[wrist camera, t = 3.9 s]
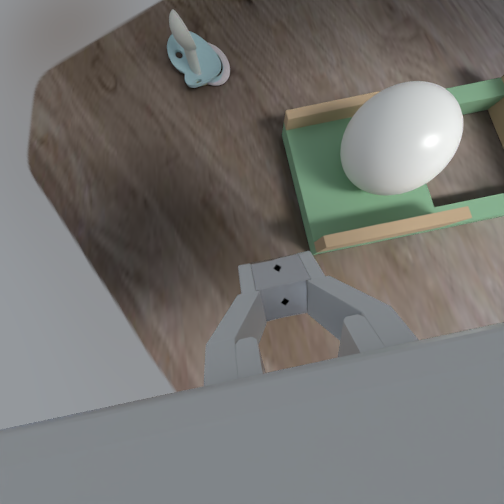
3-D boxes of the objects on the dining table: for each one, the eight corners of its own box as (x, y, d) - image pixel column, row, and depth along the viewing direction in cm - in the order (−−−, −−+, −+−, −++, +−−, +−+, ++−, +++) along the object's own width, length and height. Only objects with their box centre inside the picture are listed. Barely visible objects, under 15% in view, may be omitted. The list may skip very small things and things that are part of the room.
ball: (396, 126, 22) (474, 37, 14) (420, 199, 21) (521, 148, 13) (319, 141, 22) (353, 62, 14) (339, 216, 21) (389, 175, 13)
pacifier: (209, 39, 27) (167, 62, 26) (196, -35, 21) (141, -7, 20) (241, 82, 26) (198, 106, 25) (238, 17, 20) (181, 47, 19)
